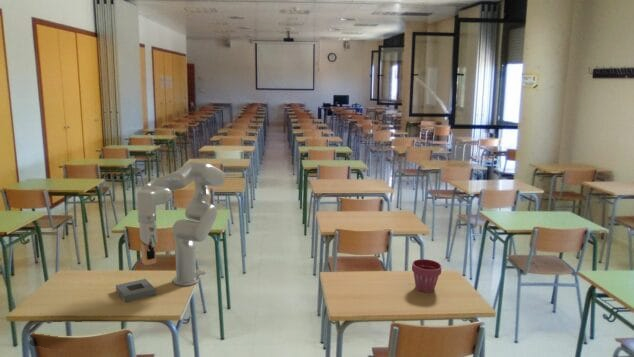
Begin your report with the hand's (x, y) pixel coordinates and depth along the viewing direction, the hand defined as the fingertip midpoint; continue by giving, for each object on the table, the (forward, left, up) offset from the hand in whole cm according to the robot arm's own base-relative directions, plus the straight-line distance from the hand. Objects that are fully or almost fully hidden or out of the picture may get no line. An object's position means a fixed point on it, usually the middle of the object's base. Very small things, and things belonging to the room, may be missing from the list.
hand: (149, 256), depth 228 cm
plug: (0, 0, -3) cm, 3 cm away
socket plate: (+3, -12, -21) cm, 25 cm away
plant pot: (-116, +61, -21) cm, 133 cm away
